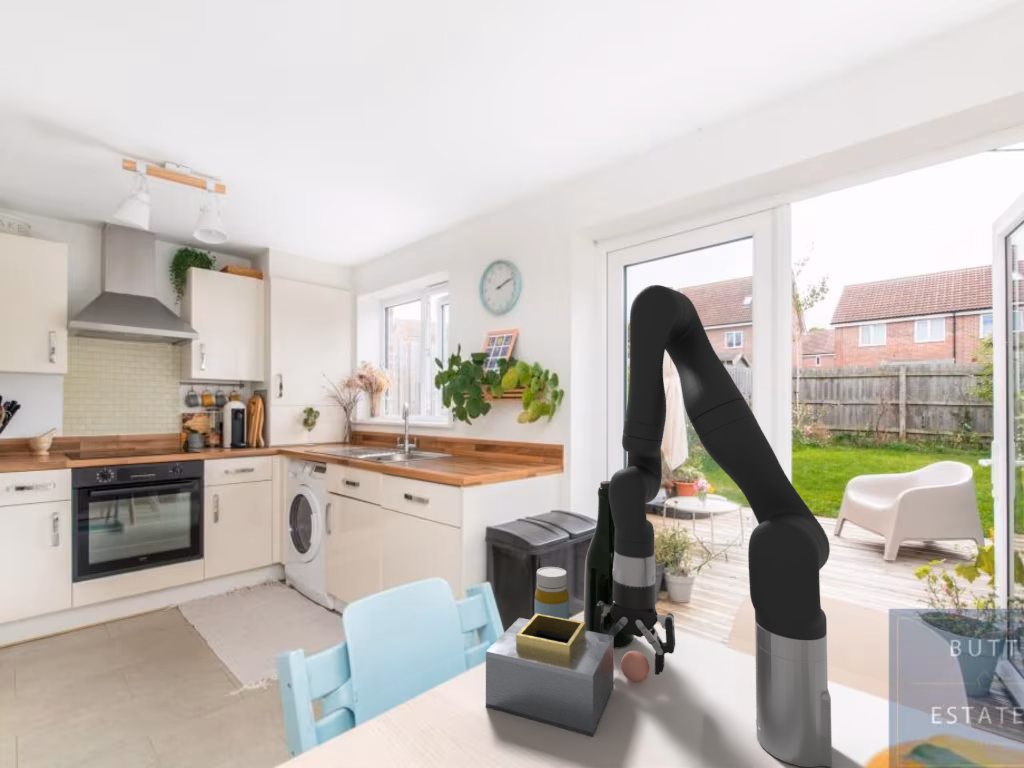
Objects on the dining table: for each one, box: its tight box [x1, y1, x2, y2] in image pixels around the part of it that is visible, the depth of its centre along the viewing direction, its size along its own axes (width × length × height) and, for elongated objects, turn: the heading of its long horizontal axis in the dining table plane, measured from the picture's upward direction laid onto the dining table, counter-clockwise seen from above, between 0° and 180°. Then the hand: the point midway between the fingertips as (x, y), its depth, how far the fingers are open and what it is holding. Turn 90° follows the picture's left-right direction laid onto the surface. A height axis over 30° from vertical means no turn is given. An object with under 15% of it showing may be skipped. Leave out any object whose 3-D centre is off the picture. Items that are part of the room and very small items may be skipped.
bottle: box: [534, 566, 570, 619], centre depth 103 cm, size 7×7×15 cm
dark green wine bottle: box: [583, 480, 635, 649], centre depth 107 cm, size 10×10×33 cm
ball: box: [620, 650, 650, 683], centre depth 90 cm, size 5×5×5 cm
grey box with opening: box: [485, 613, 615, 738], centre depth 85 cm, size 18×14×12 cm
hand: (633, 667), depth 91 cm, fingers open, 8 cm apart
